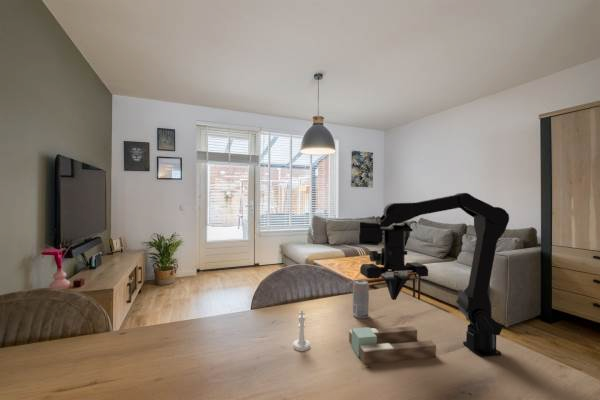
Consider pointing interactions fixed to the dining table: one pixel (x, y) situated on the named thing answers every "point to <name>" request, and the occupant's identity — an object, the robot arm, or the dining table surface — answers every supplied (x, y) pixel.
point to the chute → (395, 346)
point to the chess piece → (301, 335)
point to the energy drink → (360, 299)
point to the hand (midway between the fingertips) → (393, 299)
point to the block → (362, 338)
